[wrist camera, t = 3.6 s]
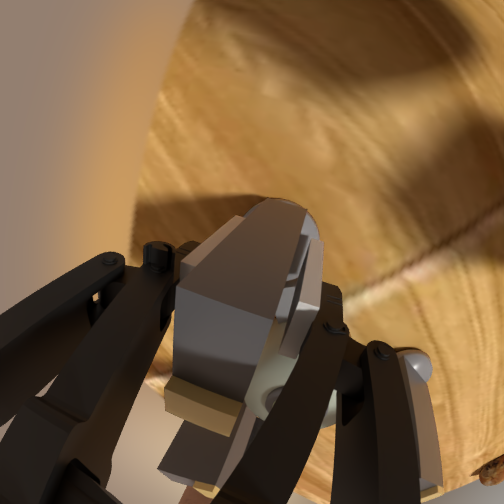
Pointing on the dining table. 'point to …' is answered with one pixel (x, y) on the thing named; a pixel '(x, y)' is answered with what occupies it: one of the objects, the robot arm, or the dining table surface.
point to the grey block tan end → (422, 421)
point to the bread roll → (493, 472)
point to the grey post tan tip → (207, 454)
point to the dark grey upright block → (233, 312)
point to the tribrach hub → (278, 366)
